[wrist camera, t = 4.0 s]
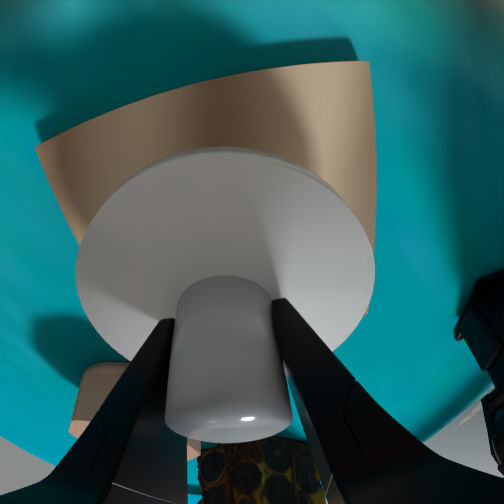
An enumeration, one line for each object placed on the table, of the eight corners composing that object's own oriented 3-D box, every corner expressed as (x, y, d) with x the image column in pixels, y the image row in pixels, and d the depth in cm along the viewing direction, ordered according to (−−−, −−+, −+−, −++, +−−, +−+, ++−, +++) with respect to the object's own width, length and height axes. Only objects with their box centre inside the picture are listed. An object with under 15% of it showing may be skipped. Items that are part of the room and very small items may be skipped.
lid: (359, 117, 7) (486, 197, 3) (357, 341, 12) (389, 435, 8) (40, 202, 7) (-47, 311, 3) (155, 376, 12) (147, 468, 9)
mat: (359, 60, 8) (368, 61, 8) (362, 303, 15) (367, 314, 15) (45, 141, 9) (35, 147, 8) (150, 343, 16) (148, 354, 15)
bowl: (168, 356, 17) (162, 423, 13) (211, 414, 22) (212, 462, 18) (60, 363, 17) (44, 415, 14) (120, 416, 22) (114, 459, 19)
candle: (194, 450, 29) (196, 525, 21) (257, 429, 25) (267, 522, 17) (255, 461, 34) (261, 524, 25) (316, 441, 30) (329, 514, 22)
